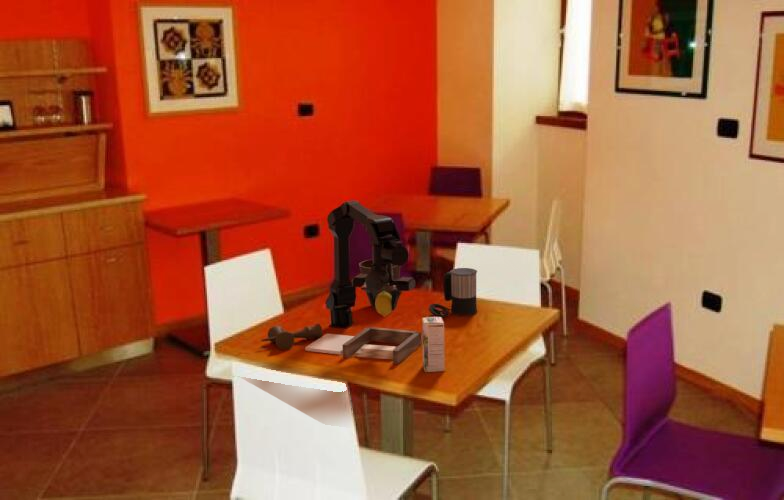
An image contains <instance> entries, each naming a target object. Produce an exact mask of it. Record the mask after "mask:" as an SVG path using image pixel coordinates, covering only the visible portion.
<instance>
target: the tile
mask: <svg viewBox="0 0 784 500" xmlns="http://www.w3.org/2000/svg"><path fill="white" fill-rule="evenodd" d="M354 336H355V335H345V334H338V333H337V334H336V333H326V334H324V335H322V337H321V338H319V339H318V338H317V339H316V340H315V341H312V343H310V344H308V345H307V346H305V347H304V349H305V351H307V352H314V353H322V354H323V353H325V354H331V355H343V346H342V345H343V344H344V343H346V342H347V341H349V340H350V339H352V338H353V337H354Z"/></svg>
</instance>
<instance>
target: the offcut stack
mask: <svg viewBox="0 0 784 500" xmlns="http://www.w3.org/2000/svg"><path fill="white" fill-rule="evenodd" d="M395 348H397V346H392V345H391V346H390V345H379V344H378V345H377V344H365V345H363V346H362V347H361V349H359V350H358V351H357V352H356V353H354V354H355V357H357V358H358V357H359V358H368V359H369V358H370V359H381V360H382V359H383V360H393V350H394V349H395Z"/></svg>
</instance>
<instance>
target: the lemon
mask: <svg viewBox="0 0 784 500" xmlns="http://www.w3.org/2000/svg"><path fill="white" fill-rule="evenodd" d="M375 307H376V309H375V310H376V312H377V313H378V314H379V315H382V317H387V316H388V315H389V314H391V312H392V296H391V295H390V294H389V293H387V292H385V291H383V292H381V293H380V294H378V295H377V297H376V300H375Z"/></svg>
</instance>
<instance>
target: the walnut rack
mask: <svg viewBox="0 0 784 500" xmlns="http://www.w3.org/2000/svg"><path fill="white" fill-rule="evenodd" d="M353 336H354V337H353V338H352V339H350V340H349V341H347V342H346V343H344V344H343V345H342V346H343V353H342V357H343V359H344V358H345V359H349V358H350V357H351V356H353V355H354V354H355V353H356V352H357V351H358V350H359V349H361V347H362V346H363V345H365V344H367V345H369V343H370V342H381V343H389V344H398V346H396V348H395V349H394V350H393V359H392V361H393V364H395V365H400V364H401V363H402V362H403V361H404V360H405V359H406V358H407V357H409V356H410V355H411V354H413V352H415V350H416V349H418V348H419V347H420V346H421V345H423V342H422V331H414V330H405V329H395V328H385V327H384V328H383V327H375V326H367V327H366V328H364V329H363V330H362V331H360V332H358V333H357V334H356V335H353Z"/></svg>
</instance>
